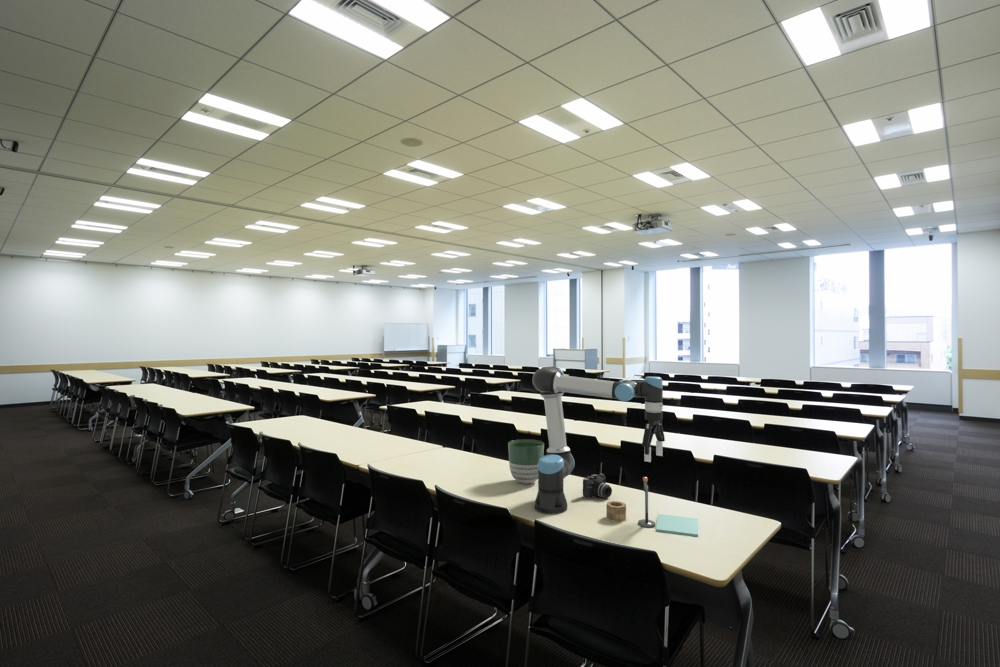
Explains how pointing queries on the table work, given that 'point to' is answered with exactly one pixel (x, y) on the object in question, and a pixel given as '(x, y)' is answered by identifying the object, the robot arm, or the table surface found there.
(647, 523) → the wire post
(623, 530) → the table surface
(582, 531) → the table surface
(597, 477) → the camera
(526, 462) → the planter
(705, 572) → the table surface
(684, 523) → the board
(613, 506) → the ring
